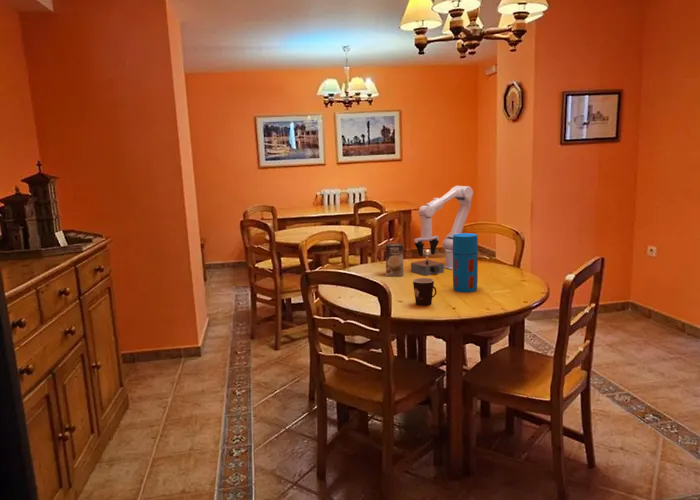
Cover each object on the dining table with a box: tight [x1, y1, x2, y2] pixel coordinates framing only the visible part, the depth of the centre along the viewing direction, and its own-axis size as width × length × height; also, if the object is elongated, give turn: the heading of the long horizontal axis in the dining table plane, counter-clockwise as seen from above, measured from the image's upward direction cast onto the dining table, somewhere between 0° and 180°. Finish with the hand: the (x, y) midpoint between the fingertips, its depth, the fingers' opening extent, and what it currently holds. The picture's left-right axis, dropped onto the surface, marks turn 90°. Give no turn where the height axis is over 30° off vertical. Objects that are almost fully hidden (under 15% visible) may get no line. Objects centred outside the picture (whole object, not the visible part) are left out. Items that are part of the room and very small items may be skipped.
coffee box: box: [385, 243, 404, 277], centre depth 264 cm, size 9×6×16 cm
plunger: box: [423, 248, 432, 264], centre depth 268 cm, size 4×4×8 cm
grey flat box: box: [410, 259, 445, 277], centre depth 268 cm, size 12×14×5 cm
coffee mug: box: [412, 277, 437, 307], centre depth 211 cm, size 12×9×10 cm
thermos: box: [452, 232, 479, 294], centre depth 231 cm, size 11×11×25 cm
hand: (426, 254), depth 268 cm, fingers open, 7 cm apart
